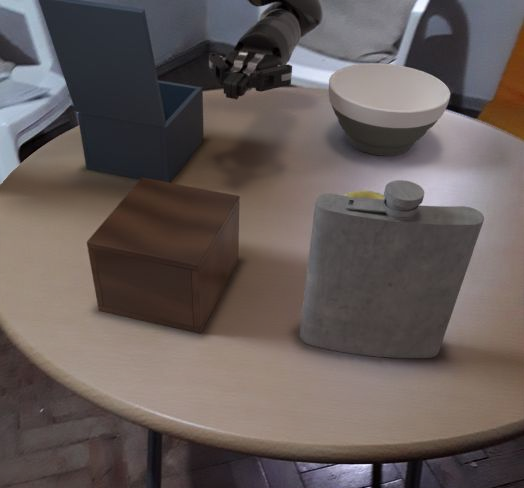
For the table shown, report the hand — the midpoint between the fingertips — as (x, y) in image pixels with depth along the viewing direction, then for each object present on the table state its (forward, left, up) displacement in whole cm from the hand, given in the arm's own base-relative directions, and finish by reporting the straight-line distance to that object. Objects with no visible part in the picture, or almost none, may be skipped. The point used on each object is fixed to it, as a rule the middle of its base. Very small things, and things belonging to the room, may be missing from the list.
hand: (231, 91), depth 84 cm
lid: (-16, -3, +2) cm, 16 cm away
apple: (+21, -9, -15) cm, 27 cm away
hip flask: (+25, -27, -15) cm, 40 cm away
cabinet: (0, -24, -15) cm, 28 cm away
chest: (-16, +6, -15) cm, 23 cm away
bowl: (+19, +24, -15) cm, 34 cm away
